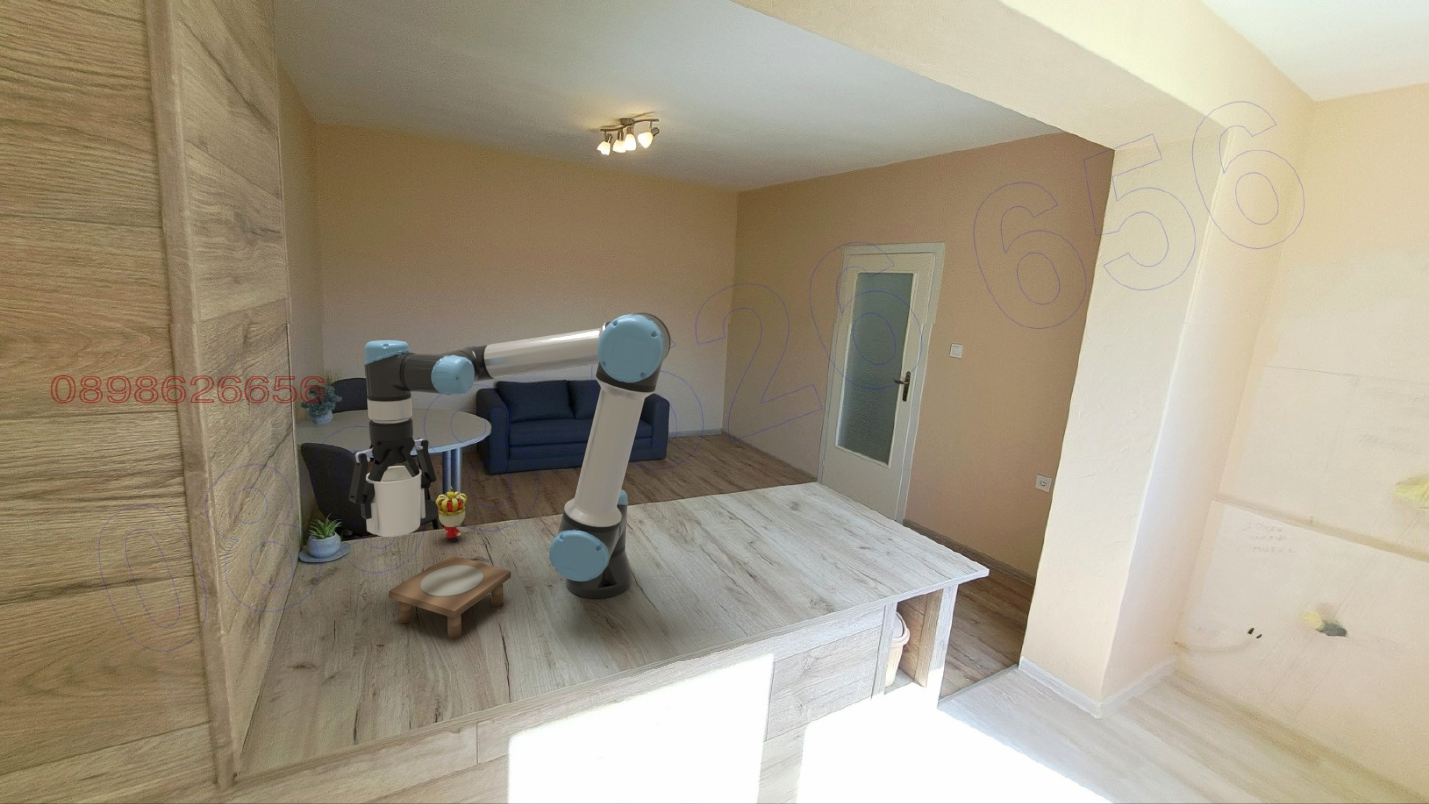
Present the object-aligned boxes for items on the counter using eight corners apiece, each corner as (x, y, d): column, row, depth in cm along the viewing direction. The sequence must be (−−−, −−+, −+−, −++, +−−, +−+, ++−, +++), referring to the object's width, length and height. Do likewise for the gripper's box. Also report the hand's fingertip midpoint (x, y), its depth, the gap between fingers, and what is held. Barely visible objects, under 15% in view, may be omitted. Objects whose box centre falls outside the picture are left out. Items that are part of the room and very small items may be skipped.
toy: (473, 539, 142) (472, 486, 139) (447, 549, 136) (445, 493, 133) (457, 531, 146) (456, 479, 143) (431, 540, 140) (429, 486, 137)
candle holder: (391, 543, 106) (387, 485, 103) (358, 531, 110) (354, 475, 107) (434, 525, 115) (432, 471, 112) (402, 514, 118) (399, 462, 116)
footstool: (510, 600, 117) (511, 570, 116) (455, 644, 102) (454, 610, 101) (451, 583, 122) (451, 554, 121) (390, 622, 107) (388, 589, 106)
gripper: (431, 407, 118) (435, 503, 123) (319, 425, 100) (329, 537, 104) (452, 412, 115) (456, 511, 119) (341, 432, 96) (350, 549, 101)
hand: (397, 523), depth 112 cm, fingers closed on candle holder, 9 cm apart
